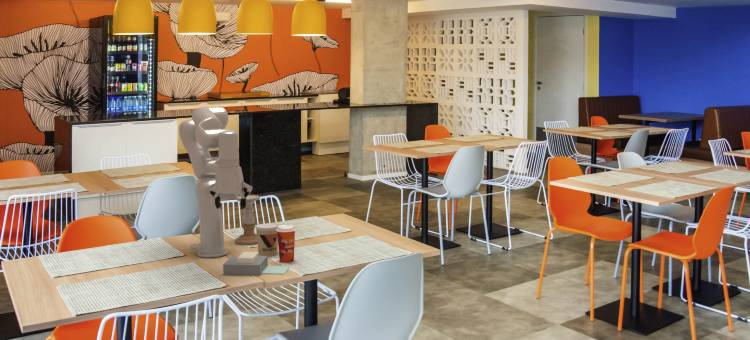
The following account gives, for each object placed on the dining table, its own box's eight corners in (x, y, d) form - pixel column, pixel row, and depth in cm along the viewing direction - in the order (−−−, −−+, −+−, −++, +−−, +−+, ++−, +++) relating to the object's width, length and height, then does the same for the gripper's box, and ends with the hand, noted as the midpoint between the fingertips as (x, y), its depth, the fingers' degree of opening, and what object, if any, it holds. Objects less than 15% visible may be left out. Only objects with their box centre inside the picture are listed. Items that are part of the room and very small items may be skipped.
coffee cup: (259, 257, 314) (258, 229, 312) (254, 252, 322) (253, 224, 320) (281, 255, 317) (281, 226, 315) (276, 250, 326) (275, 222, 324)
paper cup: (283, 264, 303) (282, 229, 301) (273, 260, 310) (272, 226, 307) (300, 261, 308) (299, 227, 306) (290, 257, 314) (289, 223, 312)
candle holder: (250, 237, 349) (249, 193, 346) (269, 241, 341) (267, 196, 338) (229, 242, 339) (227, 197, 336) (248, 246, 332) (246, 200, 329)
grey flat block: (223, 274, 290) (223, 264, 289) (232, 265, 303) (232, 255, 302) (259, 275, 289) (259, 265, 288) (267, 265, 301) (267, 255, 301)
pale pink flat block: (237, 263, 291) (237, 258, 290) (243, 256, 300) (243, 251, 299) (253, 263, 290) (252, 258, 290) (258, 257, 299) (258, 252, 299)
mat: (261, 273, 291) (261, 273, 291) (267, 266, 300) (267, 265, 300) (284, 274, 290) (284, 273, 290) (289, 267, 300) (289, 266, 300)
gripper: (203, 164, 288) (205, 209, 290) (248, 165, 285) (249, 210, 288) (210, 162, 295) (212, 205, 298) (254, 162, 293) (255, 206, 295)
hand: (230, 208), depth 293 cm, fingers open, 9 cm apart
